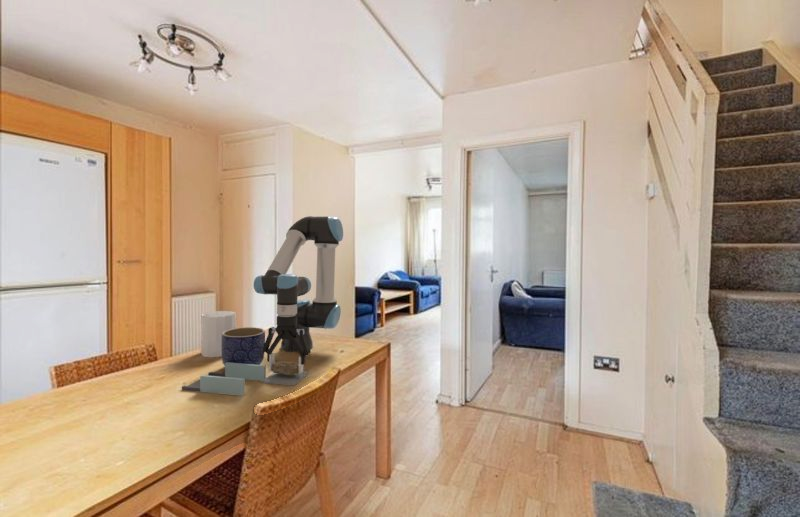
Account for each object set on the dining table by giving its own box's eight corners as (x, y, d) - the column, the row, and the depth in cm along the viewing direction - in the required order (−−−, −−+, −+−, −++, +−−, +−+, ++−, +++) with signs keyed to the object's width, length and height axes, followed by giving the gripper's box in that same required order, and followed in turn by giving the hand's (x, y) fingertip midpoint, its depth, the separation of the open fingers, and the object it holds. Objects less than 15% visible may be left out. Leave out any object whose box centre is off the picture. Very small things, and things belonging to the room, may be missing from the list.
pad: (278, 370, 150) (278, 369, 150) (308, 373, 148) (308, 371, 148) (261, 382, 137) (261, 381, 137) (294, 385, 135) (294, 384, 135)
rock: (295, 377, 138) (296, 365, 138) (267, 374, 140) (268, 363, 140) (304, 371, 146) (304, 360, 146) (277, 368, 148) (278, 357, 148)
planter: (228, 377, 141) (228, 339, 141) (215, 366, 154) (216, 330, 153) (271, 368, 152) (271, 333, 151) (256, 358, 165) (256, 325, 164)
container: (201, 358, 162) (202, 318, 161) (200, 350, 174) (200, 312, 174) (237, 354, 169) (238, 315, 169) (234, 346, 182) (234, 310, 181)
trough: (210, 374, 144) (210, 360, 143) (265, 379, 140) (265, 365, 140) (181, 389, 129) (181, 374, 129) (243, 395, 125) (243, 379, 125)
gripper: (253, 315, 140) (252, 372, 141) (312, 318, 136) (311, 377, 137) (263, 311, 147) (262, 365, 148) (320, 314, 144) (319, 370, 145)
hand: (286, 371), depth 143 cm, fingers closed on rock, 11 cm apart
